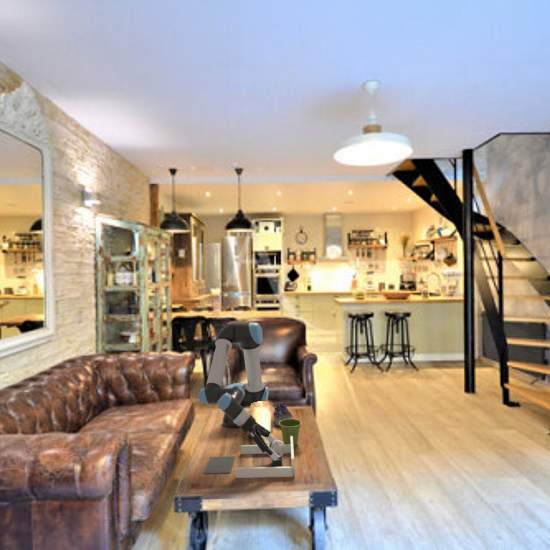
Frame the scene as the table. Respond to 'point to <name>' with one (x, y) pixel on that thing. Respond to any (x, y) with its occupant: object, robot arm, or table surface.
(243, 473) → the shelf lane
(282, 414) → the geode
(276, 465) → the watch
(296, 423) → the plant pot
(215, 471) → the mat
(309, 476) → the table surface
